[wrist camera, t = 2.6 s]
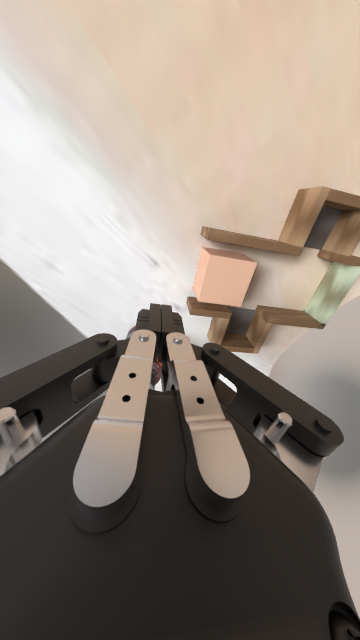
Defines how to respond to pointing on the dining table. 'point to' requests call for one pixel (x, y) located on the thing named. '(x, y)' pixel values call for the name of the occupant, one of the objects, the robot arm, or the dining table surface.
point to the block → (222, 277)
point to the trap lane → (299, 230)
